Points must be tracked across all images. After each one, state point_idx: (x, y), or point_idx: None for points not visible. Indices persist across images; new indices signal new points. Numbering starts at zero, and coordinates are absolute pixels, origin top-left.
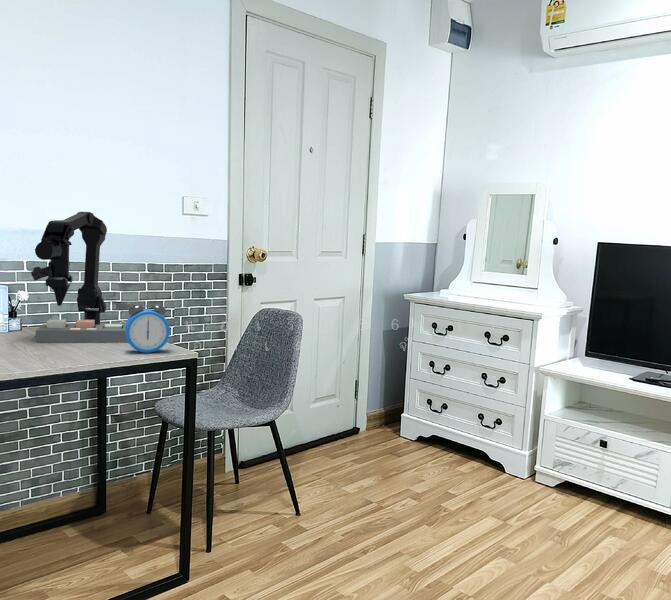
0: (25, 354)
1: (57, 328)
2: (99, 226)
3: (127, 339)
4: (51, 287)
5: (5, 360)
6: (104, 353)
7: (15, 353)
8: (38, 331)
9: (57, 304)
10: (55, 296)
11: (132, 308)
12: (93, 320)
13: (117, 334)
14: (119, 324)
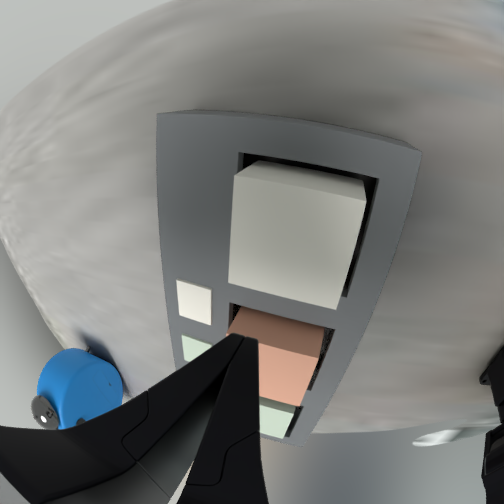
0: (34, 127)
1: (216, 227)
2: None
3: (61, 351)
4: (13, 434)
5: (4, 106)
6: (71, 298)
7: (41, 98)
8: (160, 127)
9: (225, 337)
10: (149, 388)
11: (31, 405)
12: (278, 399)
13: None
14: (274, 433)
